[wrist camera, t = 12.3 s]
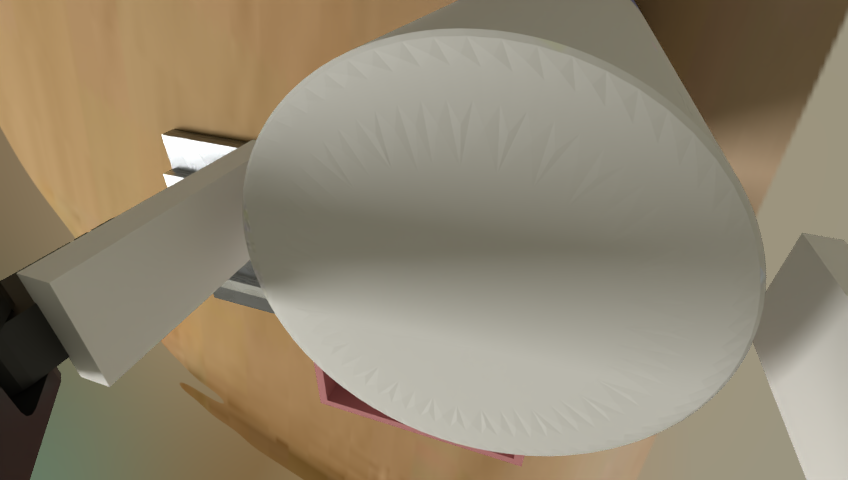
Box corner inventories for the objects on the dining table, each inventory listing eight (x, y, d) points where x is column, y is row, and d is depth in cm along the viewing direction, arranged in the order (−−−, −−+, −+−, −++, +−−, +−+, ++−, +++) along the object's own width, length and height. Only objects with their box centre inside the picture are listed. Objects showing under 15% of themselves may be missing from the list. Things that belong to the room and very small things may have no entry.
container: (478, 163, 29) (336, 437, 13) (440, -6, 24) (146, 105, 8) (650, 140, 25) (742, 495, 9) (645, -68, 20) (824, -82, 4)
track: (172, 129, 35) (151, 139, 34) (606, 202, 27) (606, 220, 26) (222, 289, 45) (207, 303, 43) (552, 377, 37) (550, 399, 36)
